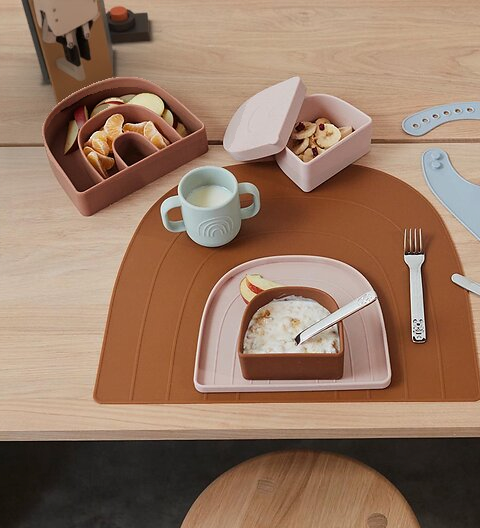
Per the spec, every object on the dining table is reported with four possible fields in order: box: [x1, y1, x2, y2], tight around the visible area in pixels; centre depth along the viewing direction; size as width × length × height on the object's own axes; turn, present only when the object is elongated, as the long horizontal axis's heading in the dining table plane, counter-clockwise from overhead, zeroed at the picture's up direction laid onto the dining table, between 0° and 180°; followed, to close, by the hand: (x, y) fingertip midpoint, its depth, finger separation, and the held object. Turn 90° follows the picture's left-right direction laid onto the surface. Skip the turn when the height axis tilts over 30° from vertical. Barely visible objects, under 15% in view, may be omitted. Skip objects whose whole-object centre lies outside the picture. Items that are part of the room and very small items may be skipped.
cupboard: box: [21, 0, 114, 84], centre depth 142 cm, size 10×14×24 cm
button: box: [109, 5, 128, 22], centre depth 156 cm, size 4×4×2 cm
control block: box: [106, 8, 151, 44], centre depth 158 cm, size 12×8×4 cm, turn 98°
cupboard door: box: [28, 0, 115, 105], centre depth 134 cm, size 8×14×24 cm, turn 139°
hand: (79, 59), depth 129 cm, fingers closed on cupboard door
